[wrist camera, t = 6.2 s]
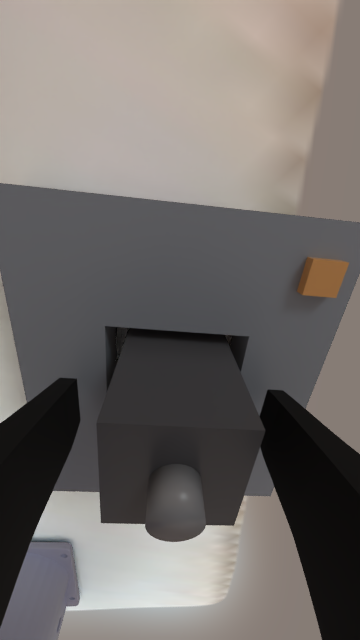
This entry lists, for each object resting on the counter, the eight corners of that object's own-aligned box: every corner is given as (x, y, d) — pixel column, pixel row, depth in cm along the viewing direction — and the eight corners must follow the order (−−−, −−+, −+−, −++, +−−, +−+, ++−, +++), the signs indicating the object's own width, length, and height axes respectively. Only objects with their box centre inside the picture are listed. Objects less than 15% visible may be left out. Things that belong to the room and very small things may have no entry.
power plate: (258, 461, 15) (273, 504, 13) (60, 455, 14) (40, 498, 12) (339, 221, 10) (388, 225, 7) (21, 186, 9) (-29, 179, 7)
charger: (207, 392, 13) (242, 569, 7) (131, 388, 13) (91, 568, 6) (220, 324, 11) (283, 471, 5) (133, 317, 11) (82, 463, 5)
